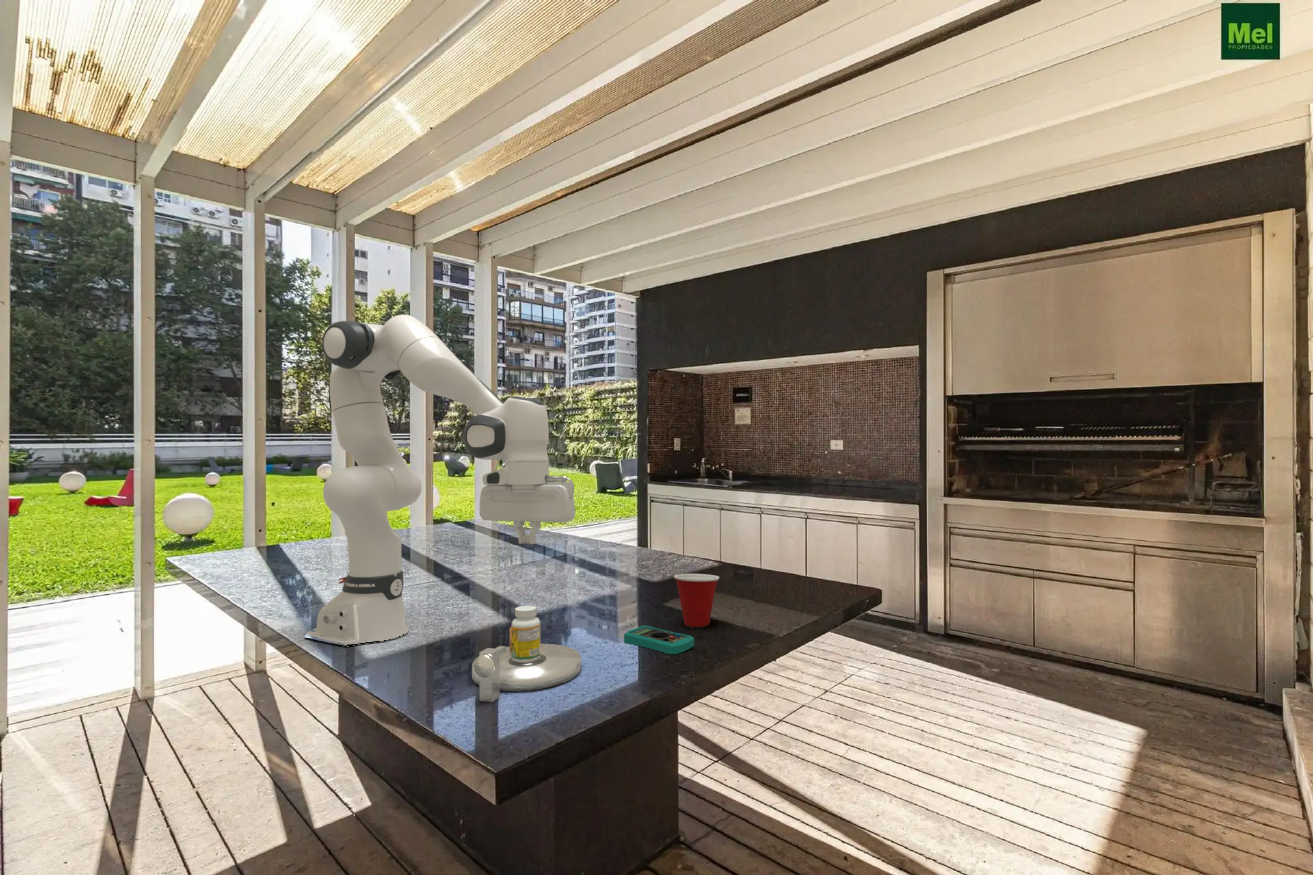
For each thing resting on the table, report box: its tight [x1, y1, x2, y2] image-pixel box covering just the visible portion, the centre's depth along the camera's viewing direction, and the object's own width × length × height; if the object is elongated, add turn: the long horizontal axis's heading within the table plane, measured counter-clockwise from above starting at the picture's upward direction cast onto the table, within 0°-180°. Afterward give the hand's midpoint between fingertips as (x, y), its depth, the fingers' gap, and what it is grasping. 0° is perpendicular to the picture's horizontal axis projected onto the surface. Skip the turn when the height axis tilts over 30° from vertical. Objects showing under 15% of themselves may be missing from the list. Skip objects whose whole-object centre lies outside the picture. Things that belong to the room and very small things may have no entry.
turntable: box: [471, 626, 582, 692], centre depth 116 cm, size 20×20×6 cm
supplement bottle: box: [511, 605, 541, 663], centre depth 116 cm, size 5×5×10 cm
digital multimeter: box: [623, 625, 695, 655], centre depth 131 cm, size 7×15×3 cm, turn 49°
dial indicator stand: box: [473, 645, 507, 703], centre depth 104 cm, size 4×6×8 cm, turn 164°
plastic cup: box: [673, 573, 720, 627], centre depth 146 cm, size 11×11×12 cm
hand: (527, 543), depth 125 cm, fingers closed
